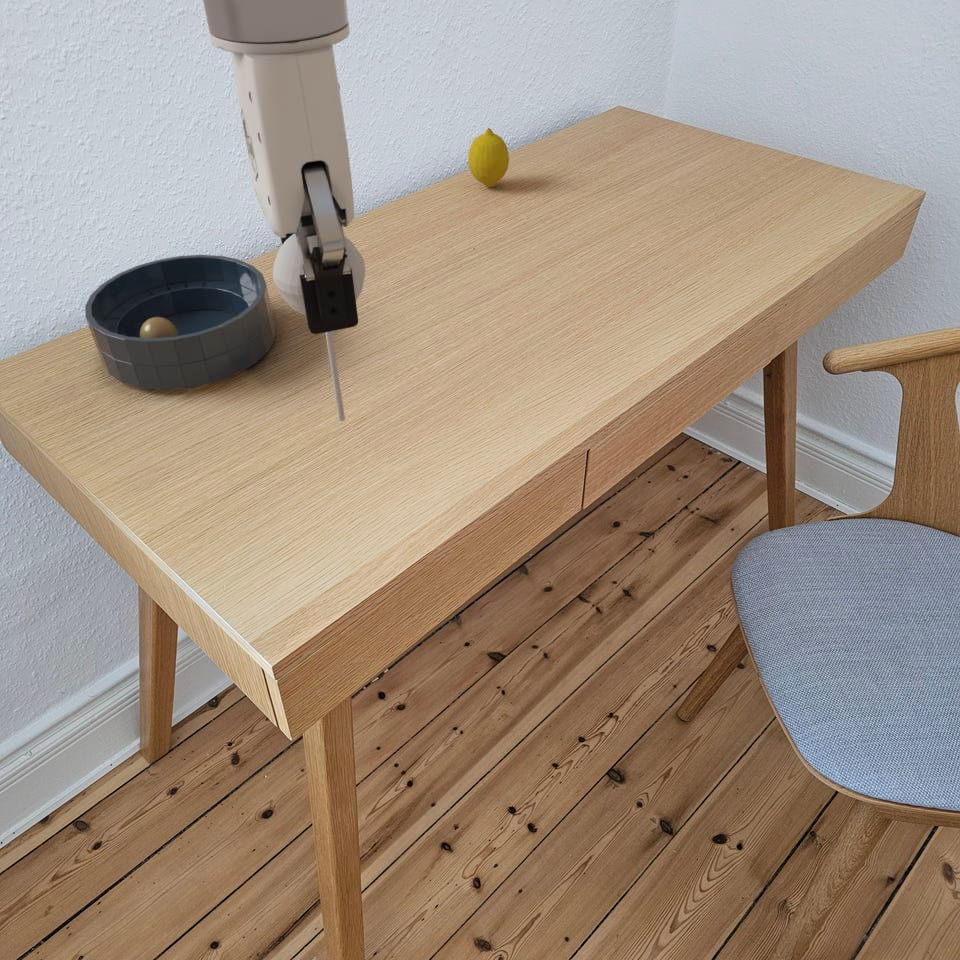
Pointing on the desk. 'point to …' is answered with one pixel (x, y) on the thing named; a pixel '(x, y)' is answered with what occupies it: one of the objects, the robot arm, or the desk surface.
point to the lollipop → (291, 291)
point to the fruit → (488, 158)
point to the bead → (158, 328)
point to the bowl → (182, 321)
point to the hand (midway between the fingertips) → (322, 301)
